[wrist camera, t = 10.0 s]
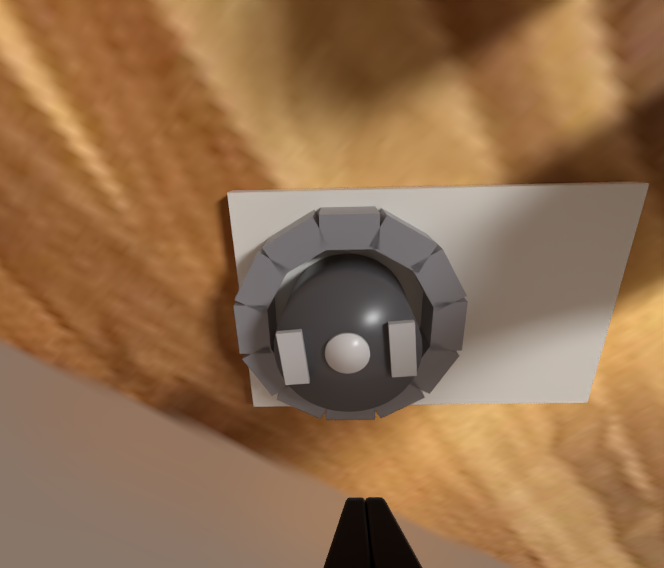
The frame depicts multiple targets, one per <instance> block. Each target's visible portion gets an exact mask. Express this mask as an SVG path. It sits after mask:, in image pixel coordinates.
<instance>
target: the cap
mask: <svg viewBox="0 0 664 568" xmlns="http://www.w3.org/2000/svg"><path fill="white" fill-rule="evenodd" d="M274 355H275V360H276V364H277V367H278V369H279V371H280V374H281V375H282V377H283V379H284V380H285V385H289V386H290V388H291V389H292V390H294V391H295V392H296V393H297V394H298V395H299V396H301V397H302V398H303V399H305V400H307V401H308V402H310V403H312V404H314V405H317V406H319V407H322V408H325V409H329V410H334V411H342V412H356V411H364V410H368V409H372V408H375V407H378V406H381V405H383V404H385V403H387V402H389V401H391V400H392V399H394V398H395V397H397V396H398V395H399V394H400V393H402V392H403V391H404V390H405V389H406V387H407V386H408V385H409V384H410V383H411V381H412V380H413V378H414V377H415V376H417V371H418V368H419V365H420V362H421V357H422V337H421V333H420V330H419V327H418V324H417V322H416V320H415V317H414V315H413V312H412V310H411V307H410V305H409V302H408V300H407V297H406V295H405V293H404V290H403V288H402V286H401V284H400V282H399V280H398V279H397V277H396V276H395V275H394V274H393V272H392V271H390V270H389V269H388V268H387V267H386V266H384V265H383V264H382V263H380V262H378V261H376V260H374V259H372V258H369V257H367V256H363V255H358V254H338V255H332V256H329V257H326V258H323V259H321V260H319V261H317V262H315V263H314V264H312V265H311V266H310V267H308V268H307V269H306V270H305V271H304V272H303V273H302V274H301V275H300V277H299V278H298V279H297V281H296V283H295V285H294V287H293V289H292V291H291V294H290V296H289V299H288V301H287V304H286V306H285V309H284V311H283V314H282V316H281V319H280V321H279V324H278V327H277V329H276V332H275V338H274Z"/></svg>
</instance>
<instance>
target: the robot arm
mask: <svg viewBox="0 0 664 568" xmlns="http://www.w3.org/2000/svg"><path fill="white" fill-rule="evenodd" d="M324 568H422V566H421V564H420V562H419V561H418V559H417V557H416V555H415V553H414V552H413V550H412V548H411V546H410V545H409V543H408V541H407V539H406V537H405V536H404V534H403V532H402V530H401V528H400V526H399V525H398V523H397V521H396V519H395V517H394V516H393V514H392V512H391V510H390V508H389V507H388V505H387V503H386V501H385V500H384V499H383V498H381V497H369V498H366V500H364V499H363V498H348V499H347V500H346V502H345V505H344V508H343V511H342V514H341V517H340V520H339V523H338V526H337V529H336V532H335V535H334V538H333V541H332V544H331V547H330V550H329V553H328V556H327V559H326V562H325V565H324Z"/></svg>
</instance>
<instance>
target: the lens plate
mask: <svg viewBox="0 0 664 568" xmlns="http://www.w3.org/2000/svg"><path fill="white" fill-rule="evenodd" d="M648 187H649V183H642V182H632V181H631V182H587V183H543V184H498V185H454V186H410V187H366V188H322V189H277V190H233V191H230V192H228V193H227V196H228V204H229V212H230V220H231V228H232V236H233V244H234V252H235V260H236V268H237V276H238V284H239V291H238V293H237V295H236V297H235V299H234V300H236V303H235V304H234V306H233V307H234V314H235V322H236V329H237V337H238V344H239V352H240V354H244V356H243V358H242V360H243V361H244V362H245V363H246V365H247V366H248V367H249V373H250V381H251V389H252V397H253V405H254V407H270V406H292V407H294V408H297V409H299V410H301V411H303V412H306V413H308V414H310V415H313V416H315V417H317V418H319V419H321V418H322V416H323V415H324V413H325V412H326V420H375V411H376V412H377V414H378V415H379V416H380V418H382V417H385V416H387V415H389V414H391V413H393V412H395V411H397V410H400V409H402V408H404V407H406V406H408V405H427V404H505V403H584V402H588V398H589V395H590V391H591V388H592V384H593V381H594V377H595V374H596V370H597V367H598V363H599V359H600V356H601V352H602V349H603V345H604V342H605V338H606V335H607V331H608V328H609V324H610V321H611V317H612V314H613V310H614V307H615V303H616V300H617V296H618V293H619V289H620V286H621V282H622V278H623V275H624V271H625V268H626V264H627V261H628V257H629V254H630V250H631V247H632V243H633V240H634V236H635V233H636V229H637V226H638V222H639V219H640V215H641V212H642V208H643V204H644V201H645V197H646V194H647V190H648ZM338 254H358V255H363V256H367V257H369V258H372V259H374V260H376V261H378V262H380V263H382V264H383V265H384V266H386V267H387V268H388V269H389V270H390V271H392V272H393V274H394V275H395V276H396V277H397V279H398V280H399V282H400V284H401V286H402V288H403V290H404V293H405V295H406V297H407V300H408V302H409V305H410V307H411V310H412V312H413V315H414V317H415V320H416V322H417V324H418V327H419V330H420V333H421V337H422V357H421V362H420V365H419V368H418V371H417V376H415V377H414V378H413V380H412V381H411V383H410V384H409V385H408V386H407V387H406V389H405V390H404V391H403V392H402V393H400V394H399V395H398V396H397V397H395V398H394V399H392V400H391V401H389V402H387V403H385V404H383V405H381V406H378V407H375V408H372V409H368V410H364V411H356V412H342V411H334V410H329V409H325V408H322V407H319V406H317V405H314V404H312V403H310V402H308V401H307V400H305V399H303V398H302V397H301V396H299V395H298V394H297V393H296V392H295V391H294V390H292V389H291V388H290V386H289V385H285V380H284V379H283V377H282V375H281V374H280V371H279V369H278V367H277V364H276V360H275V355H274V338H275V332H276V329H277V327H278V324H279V321H280V319H281V316H282V314H283V311H284V309H285V306H286V304H287V301H288V299H289V296H290V294H291V291H292V289H293V287H294V285H295V283H296V281H297V279H298V278H299V277H300V275H301V274H302V273H303V272H304V271H305V270H306V269H307V268H308V267H310V266H311V265H312V264H314V263H315V262H317V261H319V260H321V259H323V258H326V257H329V256H332V255H338Z"/></svg>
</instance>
